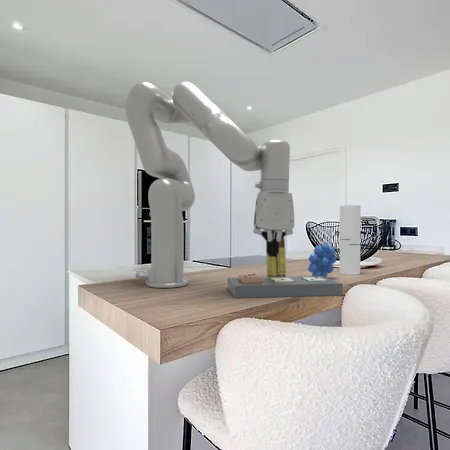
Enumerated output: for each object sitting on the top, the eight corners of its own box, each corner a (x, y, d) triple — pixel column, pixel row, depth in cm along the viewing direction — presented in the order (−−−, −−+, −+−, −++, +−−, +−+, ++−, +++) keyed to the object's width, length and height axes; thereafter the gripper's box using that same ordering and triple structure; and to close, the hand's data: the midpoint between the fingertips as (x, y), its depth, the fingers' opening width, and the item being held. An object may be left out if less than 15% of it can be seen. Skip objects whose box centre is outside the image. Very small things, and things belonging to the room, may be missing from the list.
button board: (234, 298, 78) (234, 285, 78) (227, 288, 90) (227, 277, 90) (342, 295, 82) (342, 283, 82) (322, 286, 94) (322, 275, 94)
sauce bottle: (285, 277, 108) (285, 218, 108) (286, 281, 102) (287, 218, 102) (265, 277, 108) (265, 218, 108) (266, 280, 102) (266, 218, 102)
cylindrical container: (342, 271, 123) (342, 206, 123) (362, 272, 119) (362, 206, 119) (337, 273, 117) (337, 205, 117) (357, 275, 113) (357, 205, 113)
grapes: (326, 276, 112) (326, 241, 112) (341, 279, 106) (341, 242, 106) (300, 278, 106) (300, 242, 106) (314, 281, 100) (314, 243, 100)
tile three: (242, 288, 82) (242, 276, 82) (238, 285, 87) (238, 273, 87) (261, 288, 82) (261, 276, 82) (256, 284, 87) (256, 273, 87)
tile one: (276, 293, 83) (276, 280, 83) (270, 289, 88) (270, 277, 88) (294, 292, 84) (294, 280, 84) (288, 288, 88) (288, 277, 88)
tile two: (309, 292, 84) (309, 280, 84) (302, 288, 89) (302, 277, 89) (327, 291, 85) (327, 279, 85) (319, 287, 90) (319, 276, 90)
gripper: (250, 185, 80) (248, 257, 81) (306, 187, 83) (304, 258, 83) (244, 188, 88) (242, 254, 88) (295, 190, 90) (293, 255, 90)
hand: (272, 256), depth 86 cm, fingers closed
